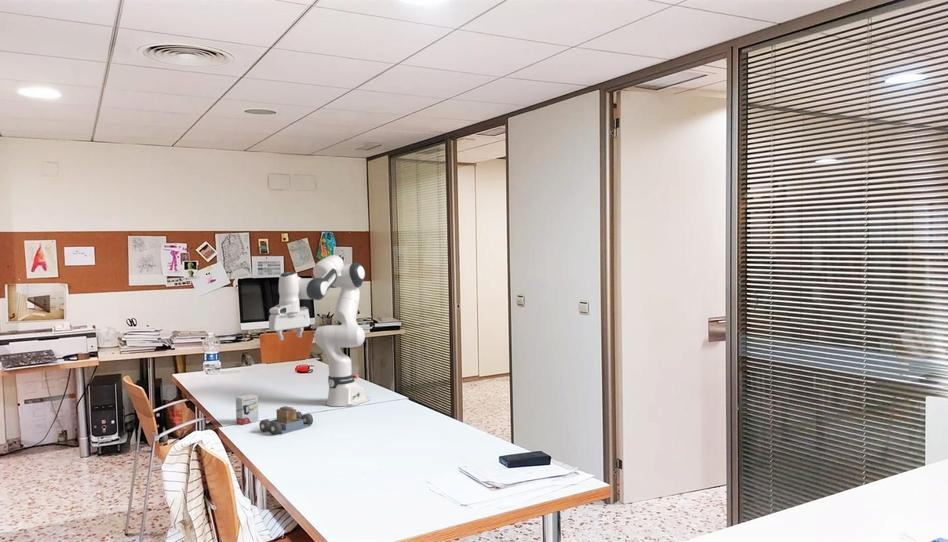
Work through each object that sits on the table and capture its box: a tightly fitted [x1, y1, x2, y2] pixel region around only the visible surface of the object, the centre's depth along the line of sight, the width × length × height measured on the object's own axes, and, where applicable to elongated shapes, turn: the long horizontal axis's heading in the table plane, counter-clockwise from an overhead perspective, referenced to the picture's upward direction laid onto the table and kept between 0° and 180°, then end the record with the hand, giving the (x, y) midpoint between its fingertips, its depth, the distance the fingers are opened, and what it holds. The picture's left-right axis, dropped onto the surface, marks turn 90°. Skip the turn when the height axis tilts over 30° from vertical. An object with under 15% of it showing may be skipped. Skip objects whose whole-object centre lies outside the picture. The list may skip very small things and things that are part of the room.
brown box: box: [276, 405, 297, 424], centre depth 291 cm, size 5×7×8 cm
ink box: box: [235, 393, 259, 426], centre depth 303 cm, size 9×5×12 cm, turn 143°
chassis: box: [259, 410, 314, 436], centre depth 291 cm, size 19×12×5 cm, turn 143°
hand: (290, 338), depth 305 cm, fingers open, 8 cm apart
